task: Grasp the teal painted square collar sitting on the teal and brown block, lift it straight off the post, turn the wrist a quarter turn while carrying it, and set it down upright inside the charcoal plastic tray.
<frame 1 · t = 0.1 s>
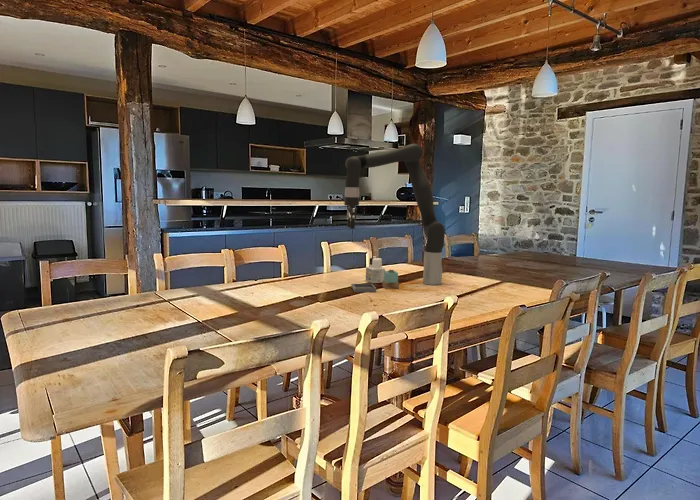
hand: (350, 228, 247), 29 cm above the table, fingers open, 8 cm apart
teal collar: (390, 281, 244), point 3 cm above the table, touching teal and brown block
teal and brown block: (390, 287, 244), on the table
container: (374, 281, 258), on the table
charcoal tray: (363, 289, 237), on the table
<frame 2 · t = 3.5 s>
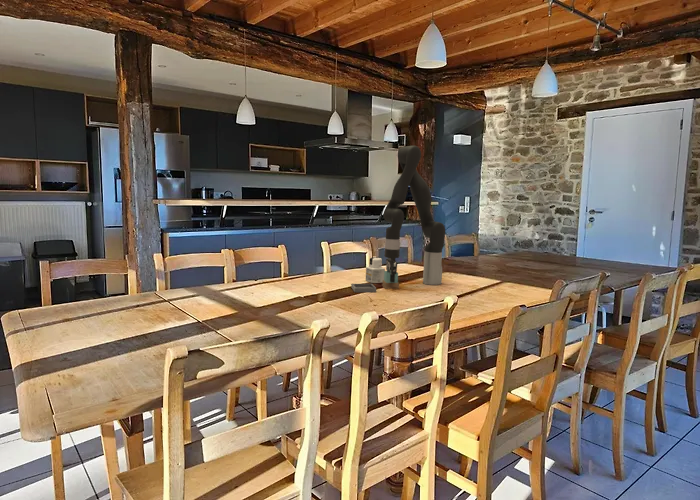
hand: (390, 280, 244), 4 cm above the table, fingers closed on teal collar, 5 cm apart
teal collar: (390, 281, 244), point 3 cm above the table, touching gripper, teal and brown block
everything else where it was.
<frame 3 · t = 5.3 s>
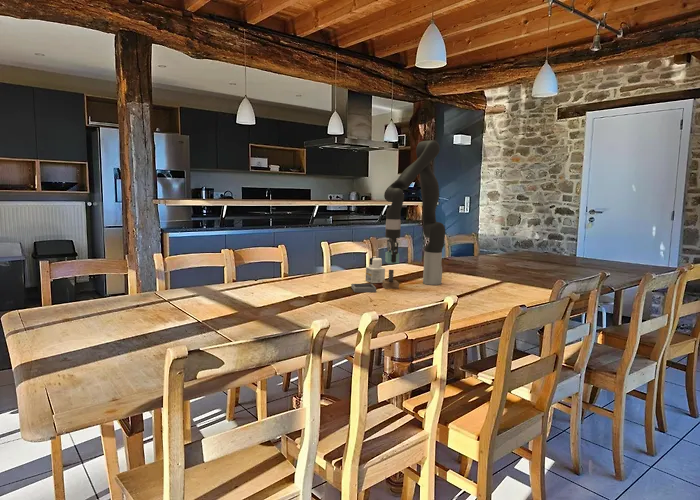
hand: (392, 261, 243), 14 cm above the table, fingers closed on teal collar, 5 cm apart
teal collar: (392, 262, 243), point 13 cm above the table, touching gripper
everything else where it was.
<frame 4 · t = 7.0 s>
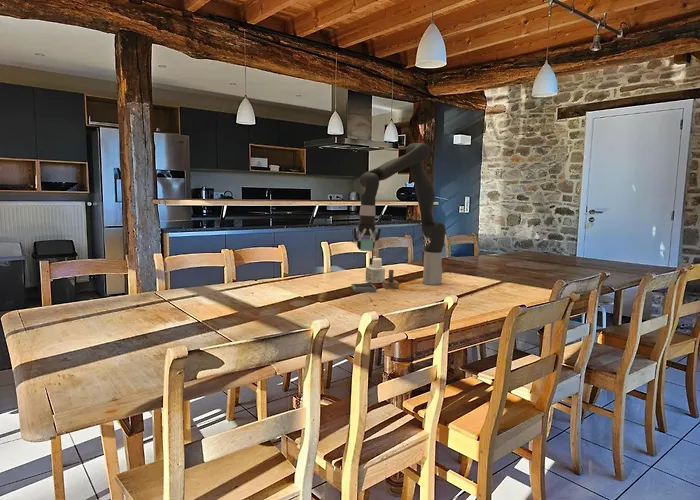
hand: (365, 248, 235), 20 cm above the table, fingers closed on teal collar, 5 cm apart
teal collar: (365, 250, 235), point 20 cm above the table, touching gripper
everything else where it was.
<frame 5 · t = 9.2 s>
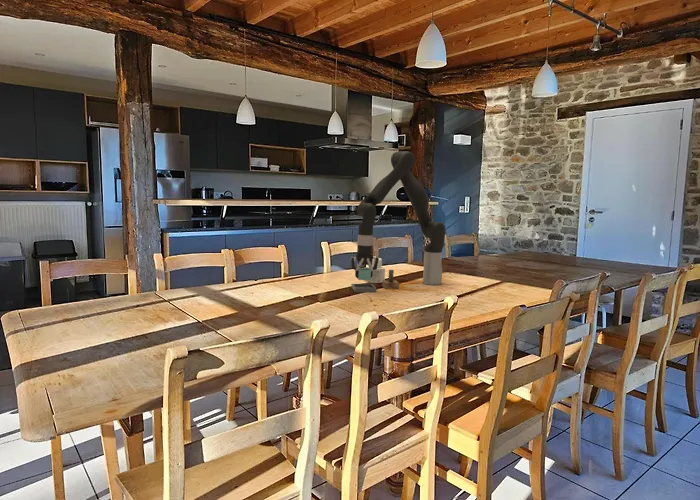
hand: (363, 277, 236), 6 cm above the table, fingers closed on teal collar, 5 cm apart
teal collar: (363, 278, 236), point 5 cm above the table, touching gripper
everything else where it was.
when the fingers open (3 cm above the table, at t = 10.8 s): teal collar drops 2 cm, resting on charcoal tray.
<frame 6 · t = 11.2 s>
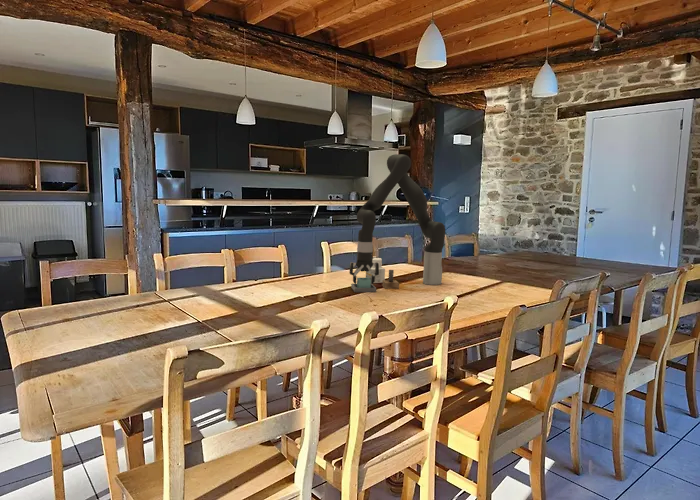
hand: (363, 283, 236), 3 cm above the table, fingers open, 8 cm apart
teal collar: (363, 288, 237), point 1 cm above the table, touching charcoal tray
everything else where it was.
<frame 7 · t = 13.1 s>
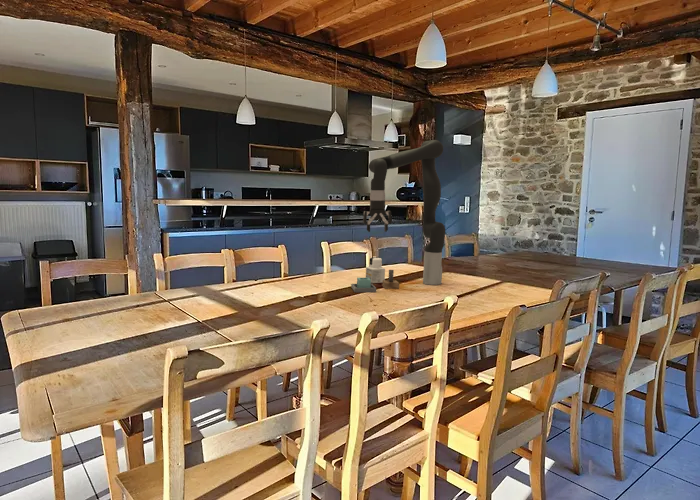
hand: (377, 231, 242), 28 cm above the table, fingers open, 8 cm apart
nothing on the table moved.
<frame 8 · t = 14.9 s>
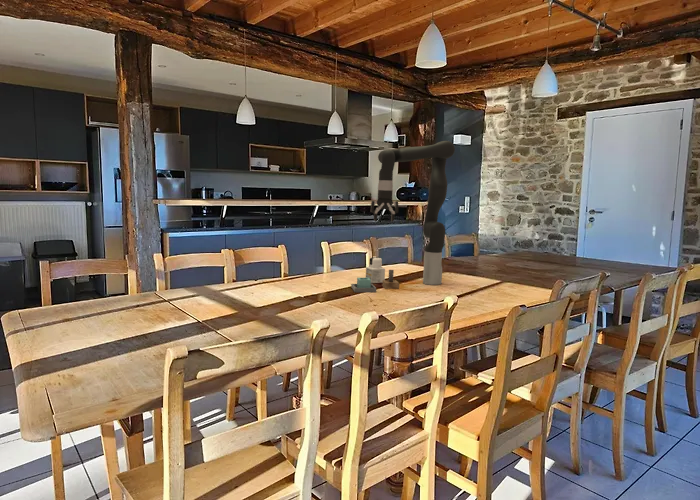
hand: (384, 221, 247), 33 cm above the table, fingers open, 8 cm apart
nothing on the table moved.
at the end: teal collar inside the target area on the charcoal tray (0.0 cm from its centre), point 0.6 cm above the charcoal tray's base; teal collar tilted 0°; the gripper is holding nothing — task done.
